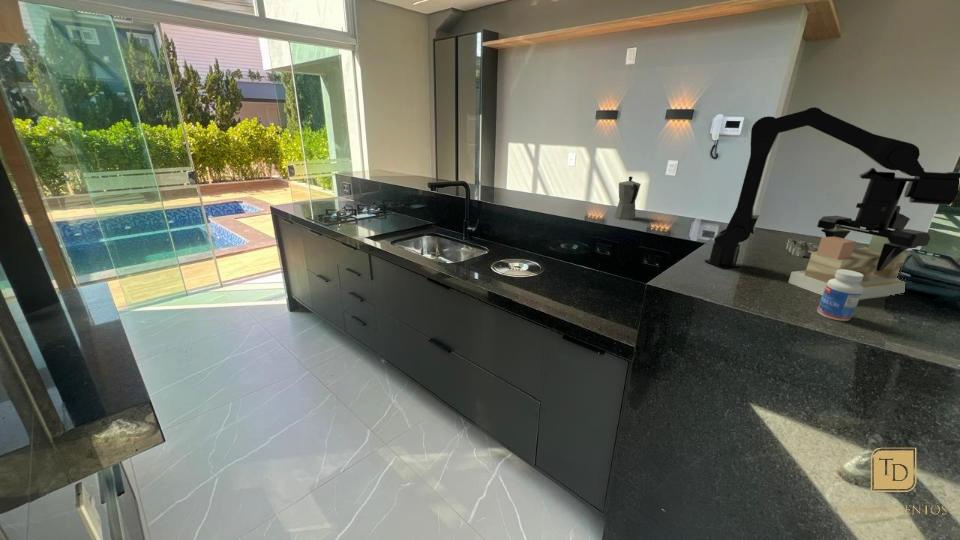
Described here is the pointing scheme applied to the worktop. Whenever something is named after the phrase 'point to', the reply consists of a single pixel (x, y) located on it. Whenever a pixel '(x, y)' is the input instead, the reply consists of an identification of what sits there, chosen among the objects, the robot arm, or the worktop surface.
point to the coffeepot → (627, 199)
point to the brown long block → (853, 265)
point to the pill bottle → (841, 295)
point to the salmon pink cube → (836, 247)
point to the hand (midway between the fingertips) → (855, 264)
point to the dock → (870, 288)
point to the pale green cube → (877, 243)
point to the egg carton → (801, 248)
